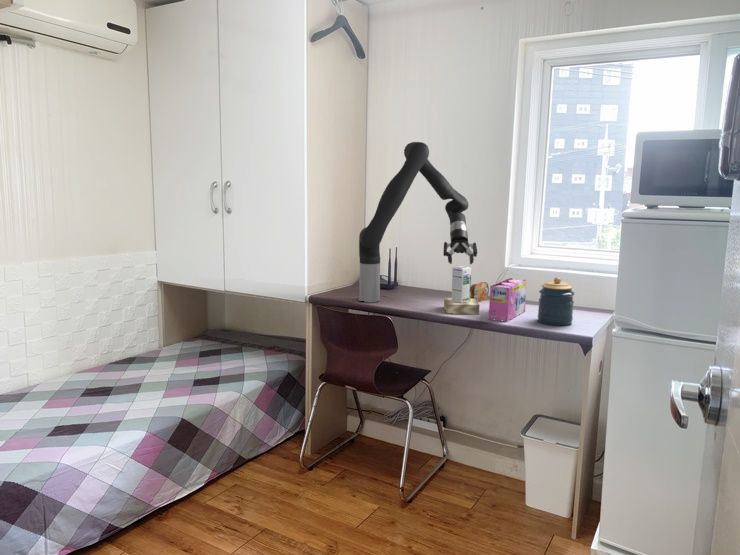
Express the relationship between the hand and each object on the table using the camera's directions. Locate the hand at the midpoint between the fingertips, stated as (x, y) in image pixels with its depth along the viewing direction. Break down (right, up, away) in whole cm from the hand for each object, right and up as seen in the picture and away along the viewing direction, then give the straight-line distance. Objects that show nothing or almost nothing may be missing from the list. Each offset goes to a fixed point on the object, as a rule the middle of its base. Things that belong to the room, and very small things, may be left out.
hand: (461, 263), depth 235 cm
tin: (+11, -17, +20) cm, 28 cm away
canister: (+33, -24, -19) cm, 45 cm away
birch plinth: (0, -20, -2) cm, 20 cm away
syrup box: (-1, -16, -2) cm, 16 cm away
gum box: (+17, -22, -9) cm, 29 cm away
